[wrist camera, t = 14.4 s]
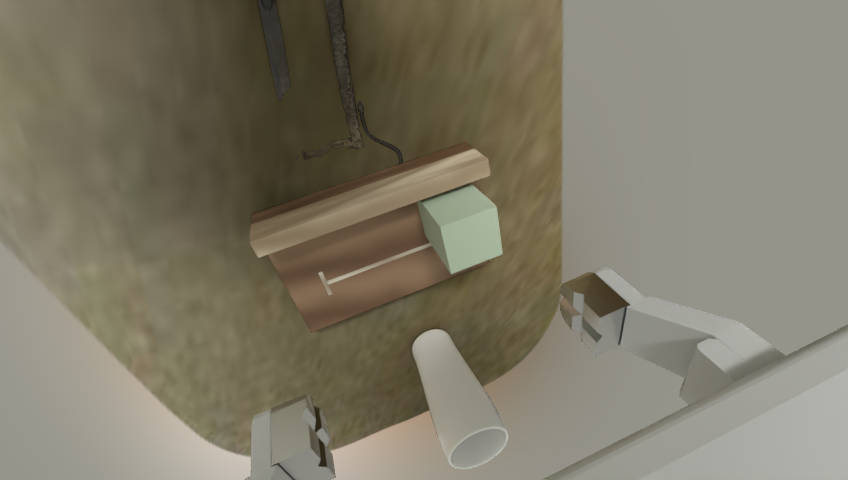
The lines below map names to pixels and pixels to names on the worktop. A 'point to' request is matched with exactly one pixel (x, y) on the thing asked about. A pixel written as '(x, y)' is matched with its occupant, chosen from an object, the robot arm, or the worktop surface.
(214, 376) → the worktop surface
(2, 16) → the worktop surface
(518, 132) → the worktop surface
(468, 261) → the block
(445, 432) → the drinking glass
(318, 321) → the walnut board
